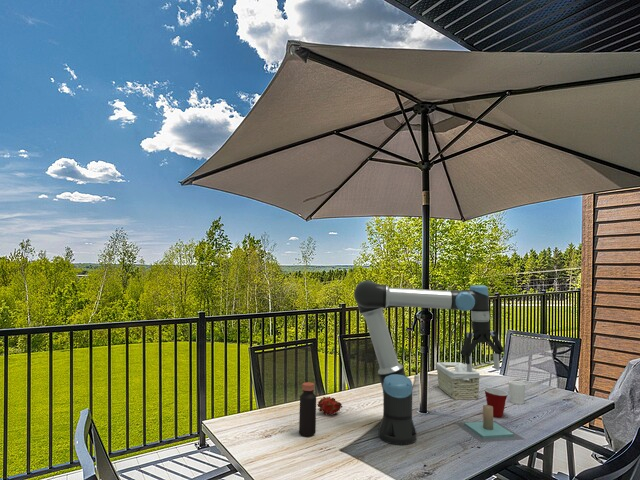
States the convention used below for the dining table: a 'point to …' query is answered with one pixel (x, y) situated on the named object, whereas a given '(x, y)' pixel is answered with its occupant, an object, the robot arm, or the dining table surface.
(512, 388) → the white cup
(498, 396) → the plastic cup
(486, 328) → the robot arm
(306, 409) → the bottle
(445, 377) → the storage basket
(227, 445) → the dining table surface
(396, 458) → the dining table surface
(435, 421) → the dining table surface
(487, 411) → the lid
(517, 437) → the mat
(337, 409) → the dragon fruit
